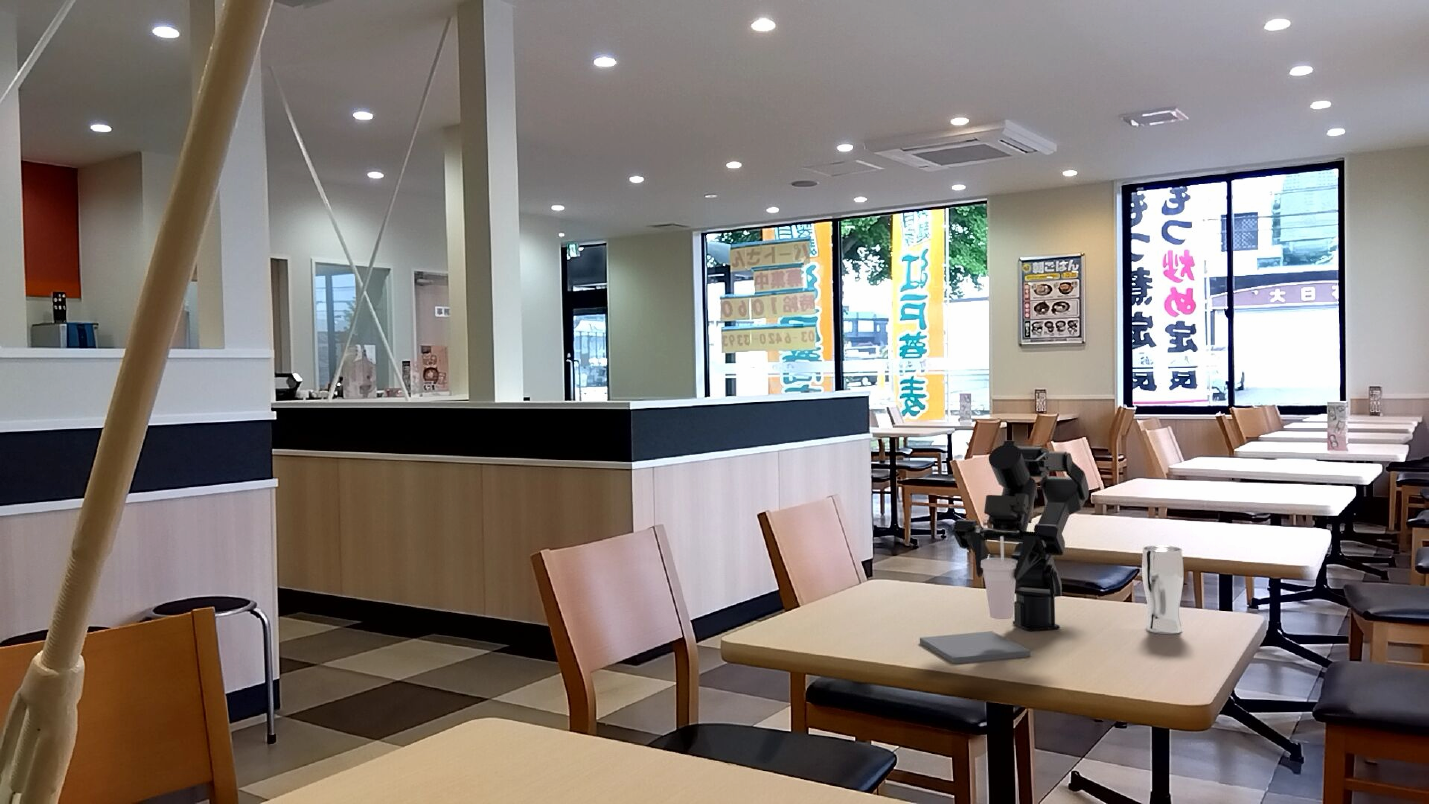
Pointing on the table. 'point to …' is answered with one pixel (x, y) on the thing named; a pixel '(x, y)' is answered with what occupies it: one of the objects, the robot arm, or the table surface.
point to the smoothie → (1000, 584)
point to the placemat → (974, 647)
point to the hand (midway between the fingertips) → (997, 577)
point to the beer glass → (1163, 588)
